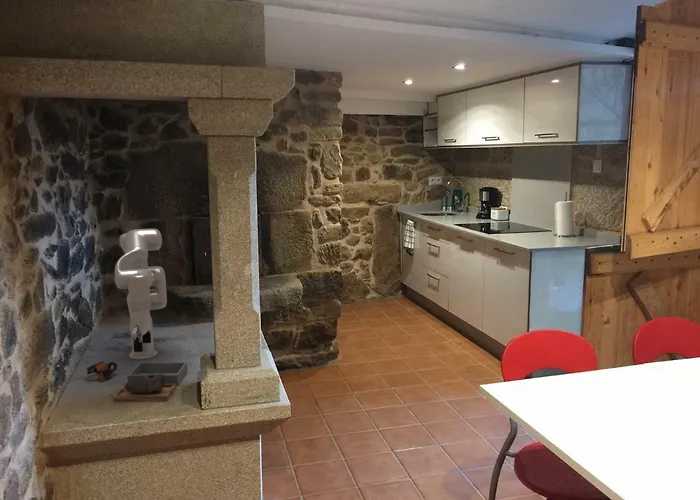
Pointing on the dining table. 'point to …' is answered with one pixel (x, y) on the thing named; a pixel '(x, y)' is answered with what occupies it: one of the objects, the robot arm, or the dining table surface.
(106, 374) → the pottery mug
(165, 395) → the walnut tray
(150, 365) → the charcoal bin
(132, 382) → the perforated stone tool
